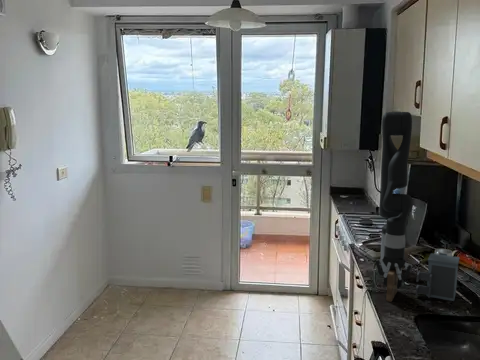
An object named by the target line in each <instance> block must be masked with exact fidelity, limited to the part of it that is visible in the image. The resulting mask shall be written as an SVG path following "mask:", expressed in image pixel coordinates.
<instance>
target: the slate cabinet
mask: <svg viewBox="0 0 480 360" xmlns="http://www.w3.org/2000/svg"><path fill="white" fill-rule="evenodd" d="M427 258H428V259H427V263H428V267H427V272H425V271H417V274H416V283H419V280H421V281H426V285H420V284H416V287H415V296H418V294H425V295H426V296H425V297H428V298H434V299H435V298H436V299H439V300H440V299H441V300H445V301H450V302H452V301H453V302H455V300H456V299H455V298H456V294H457V282H458V272H459V271H458V269H459V262H460V257H459V256H453V255H452V256H446V255H439V254H435V253H433V252H431V253H430V254H429V256H428V257H427Z"/></svg>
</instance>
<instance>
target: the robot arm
mask: <svg viewBox="0 0 480 360" xmlns="http://www.w3.org/2000/svg"><path fill="white" fill-rule="evenodd" d="M412 129H413V117H412V114H411V113H410V112H409V111H387V112H385V113H384V114H383V116H382V119H381V130H382V131H381V132H382V133H381V134H382V137H381V138H382V155H381V157H382V158H381V187H380V188H381V189H380V199H379V215H380V217H381V218H384V219H386V221H385V223H386V224H385V225H383V226H382V227H381V237H380V238H381V239H380V240H381V241H380V242H381V244H380V258H377V259H376V260H375V265H376V269H377V272H378V275H379V276H382V277H383V285H384V287H386V288H387V277H388V272H389V271H390V270H396V272H397V275H398V282H397V290H398V289H400V288H401V287H402V286H403V280H406V279H407V278H408V276H409V273H410V271H411V269H412V267H413V264H412V263H408V262H406V260H405V254H406V253H405V252H406V251H405V250H406V228H407V227H406V225H407V219H408V218H409V217H408V216H409V213H410V211H411V209H412V205H413V200H412V197H411V195H409V194H407V193H393V192H394V191H395V190H397V189H404V188H406V187H407V186H408V163H409V155H410V149H411V147H410V146H411V140H412V139H411V138H412V132H413V130H412ZM392 136H402V140H401V143H400V146H399V147H398V149H397V147H396V145H395V144H394V142H393V139H392ZM404 266H405V267H404ZM403 267H404V269H405V272H404V274H403V273H402V268H403Z"/></svg>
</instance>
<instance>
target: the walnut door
mask: <svg viewBox="0 0 480 360" xmlns="http://www.w3.org/2000/svg"><path fill="white" fill-rule="evenodd" d="M397 282H398V275H397V272H396V270H390V271H389V272H388V277H387V287H386V300H385V302H389V303H392V302H393V300H394V298H395V297H396V294H397V293H398V289H397Z"/></svg>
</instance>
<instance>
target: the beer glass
mask: <svg viewBox="0 0 480 360" xmlns="http://www.w3.org/2000/svg"><path fill="white" fill-rule="evenodd" d="M434 254H439V255H446V256H453V251H452V250H451V249H448V248H447V249H446V248H435V250H434Z"/></svg>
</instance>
